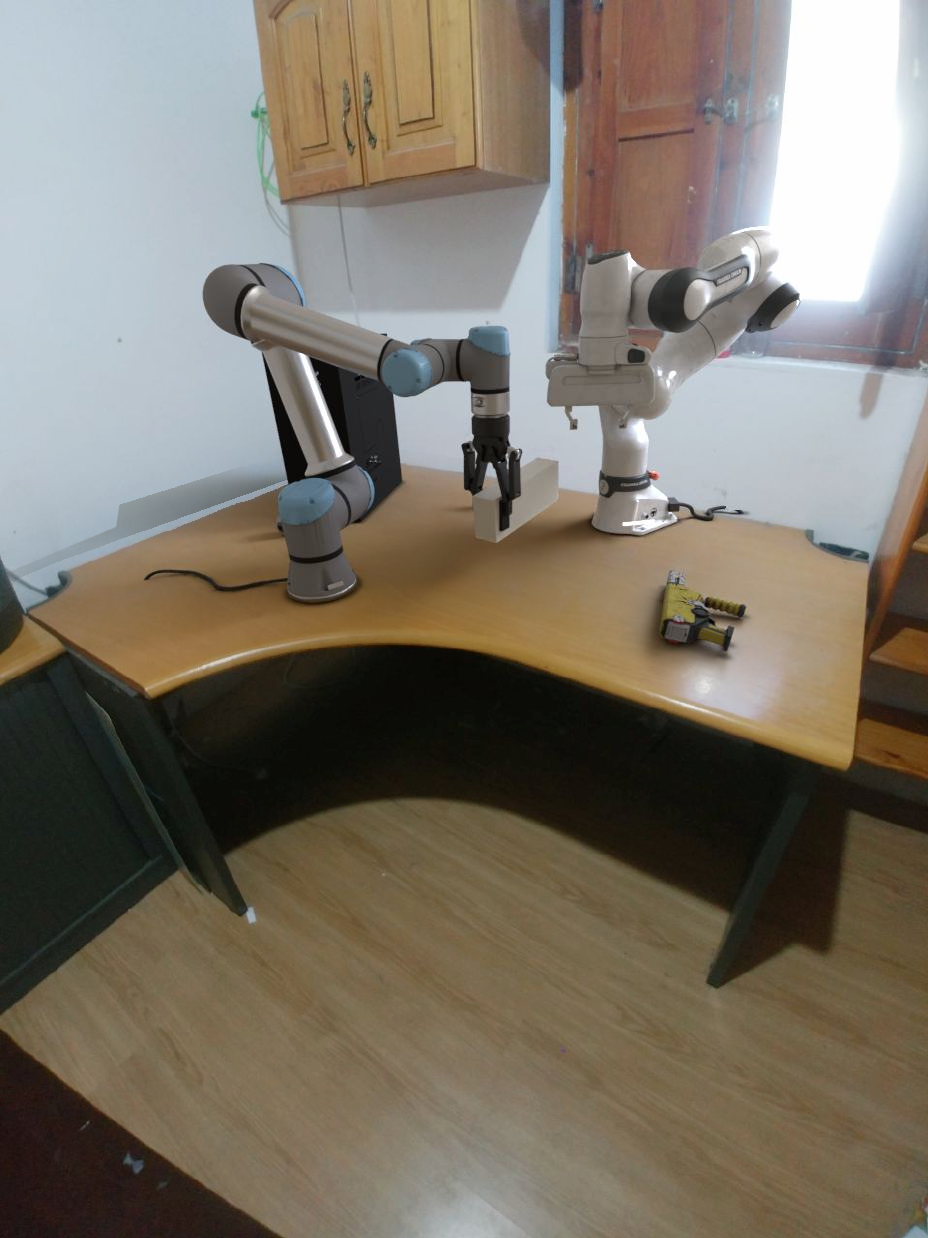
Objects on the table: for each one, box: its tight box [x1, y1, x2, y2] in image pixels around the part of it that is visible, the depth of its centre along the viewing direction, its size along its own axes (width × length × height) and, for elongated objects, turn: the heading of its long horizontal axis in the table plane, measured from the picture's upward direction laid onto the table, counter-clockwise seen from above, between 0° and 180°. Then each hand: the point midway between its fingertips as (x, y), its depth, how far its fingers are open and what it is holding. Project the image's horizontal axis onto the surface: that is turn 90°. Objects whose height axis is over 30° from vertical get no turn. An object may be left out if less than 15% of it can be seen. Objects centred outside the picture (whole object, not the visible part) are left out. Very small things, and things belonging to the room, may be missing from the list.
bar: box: [471, 457, 559, 544], centre depth 134 cm, size 25×6×10 cm, turn 142°
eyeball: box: [275, 515, 284, 535], centre depth 163 cm, size 6×6×6 cm
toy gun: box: [659, 569, 747, 652], centre depth 114 cm, size 5×24×15 cm
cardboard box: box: [261, 333, 403, 523], centre depth 177 cm, size 38×20×45 cm, turn 167°
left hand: (492, 525), depth 129 cm, fingers closed on bar, 6 cm apart
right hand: (597, 428), depth 119 cm, fingers open, 8 cm apart
